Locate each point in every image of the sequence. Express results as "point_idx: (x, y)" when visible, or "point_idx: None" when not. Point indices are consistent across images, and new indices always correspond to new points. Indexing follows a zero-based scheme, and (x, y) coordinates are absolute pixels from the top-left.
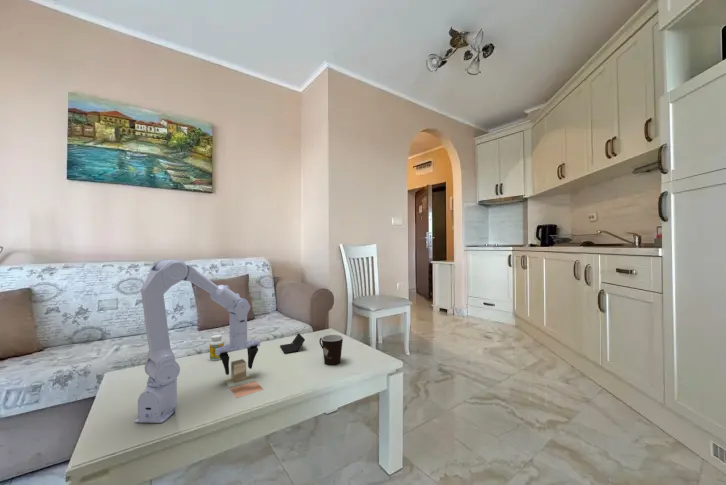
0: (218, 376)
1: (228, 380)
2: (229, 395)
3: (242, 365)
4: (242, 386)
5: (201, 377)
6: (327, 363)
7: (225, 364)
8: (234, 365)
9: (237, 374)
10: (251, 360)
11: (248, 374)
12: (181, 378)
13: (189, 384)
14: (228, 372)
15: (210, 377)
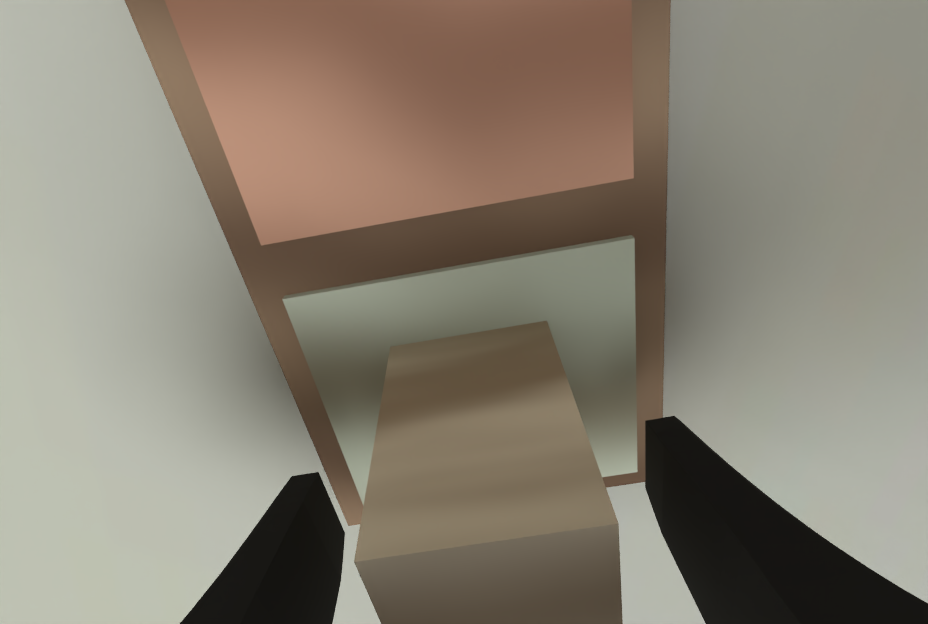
0: (632, 558)
1: (595, 412)
2: None
3: (437, 508)
4: (460, 155)
5: None
6: None
7: (848, 563)
8: (610, 520)
9: (518, 392)
10: (240, 598)
11: (357, 460)
12: None
13: (888, 516)
14: (671, 438)
15: None
